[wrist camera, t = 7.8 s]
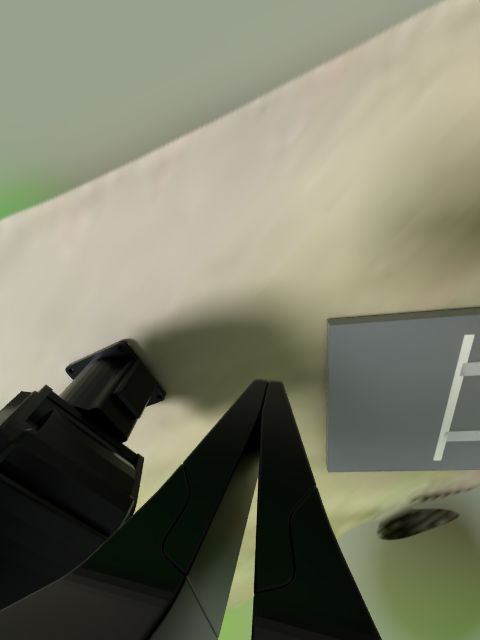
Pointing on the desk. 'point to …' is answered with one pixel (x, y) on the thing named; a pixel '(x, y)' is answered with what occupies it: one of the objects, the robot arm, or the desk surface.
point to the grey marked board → (404, 392)
